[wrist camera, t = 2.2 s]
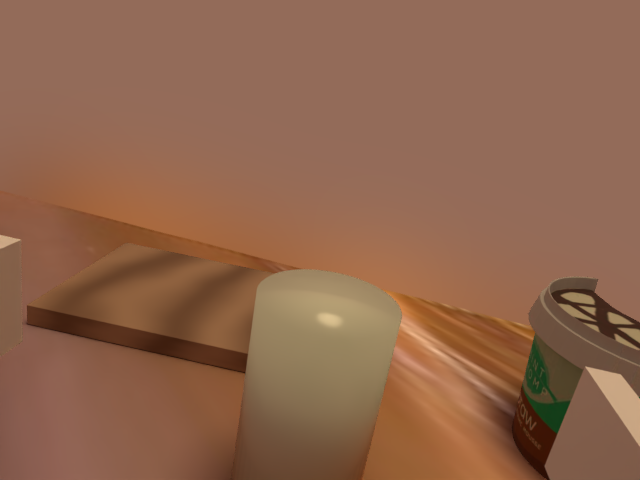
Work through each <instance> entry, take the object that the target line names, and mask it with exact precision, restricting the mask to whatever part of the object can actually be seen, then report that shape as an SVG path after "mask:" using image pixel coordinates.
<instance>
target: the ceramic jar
mask: <svg viewBox="0 0 640 480" xmlns="http://www.w3.org/2000/svg"><path fill="white" fill-rule="evenodd" d="M401 318H402V313H401V309H400V307H399V305H398V304H397V302H396V301H395V300H394V299H393V298H392V297H391V296H390V295H388V294H387V293H386V292H384V291H383V290H381V289H380V288H378V287H376V286H374V285H372V284H370V283H368V282H365V281H363V280H361V279H358V278H355V277H352V276H348V275H344V274H340V273H335V272H329V271H323V270H308V269H302V270H289V271H283V272H279V273H276V274H273V275H270V276H269V277H267V278H265V279H264V280H263V281H261V283H260V284H259V285H258V287H257V292H256V299H255V306H254V314H253V321H252V329H251V336H250V343H249V351H248V358H247V366H246V373H245V380H244V388H243V395H242V403H241V410H240V417H239V425H238V432H237V440H236V447H235V454H234V462H233V469H232V476H231V480H362V478H363V474H364V470H365V466H366V462H367V458H368V454H369V450H370V446H371V441H372V437H373V433H374V429H375V425H376V421H377V417H378V413H379V409H380V405H381V401H382V396H383V392H384V388H385V384H386V380H387V376H388V372H389V368H390V364H391V360H392V356H393V351H394V347H395V343H396V339H397V335H398V331H399V327H400V323H401Z"/></svg>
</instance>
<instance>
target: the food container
mask: <svg viewBox="0 0 640 480" xmlns="http://www.w3.org/2000/svg"><path fill="white" fill-rule="evenodd" d="M597 281H598V279H596V278H589V277H564V278H559V279H556V280H553V281H552V282H551V283H550V284H549V286H548V287H547V288H545V289H544V290H543V291H542V292H541V294H540V295H539V297H538V299H537V300H536V301H535V303H534V305H533V306H532V308H531V310H530V312H529V321H530V324H531V326H532V328H533V329H534V331H535V336H534V340H533V344H532V348H531V352H530V356H529V360H528V364H527V368H526V372H525V376H524V380H523V384H522V388H521V392H520V396H519V400H518V404H517V409H516V413H515V417H514V421H513V425H512V431H513V438H514V441H515V443H516V445H517V447H518V449H519V450H520V452H521V453H522V455H523V456H524V457H525V459H526V460H527V461H528V462H529V463H530V464H531V465H532V466H533V467H534V468H535V469H536V470H537V471H538V472H539V473H540V474H541V475H542V476H544V477H545V478H546V479H547V480H550V479H549V476H548V474H547V471H546V469H545V464H546V461H547V459H548V456H549V454H550V451H551V449H552V446H553V444H554V441H555V439H556V437H557V434H558V432H559V429H560V427H561V424H562V422H563V419H564V417H565V414H566V412H567V409H568V407H569V405H570V402H571V400H572V397H573V395H574V392H575V390H576V387H577V385H578V382H579V380H580V377H581V375H582V373H583V370H584V368H585V366H586V367H590V368H594V369H599V370H603V371H608V372H612V373H617V374H621V375H622V377H623V378H624V379H625V380H626V382H627V383H628V384H629V385H630V387H631V388H632V389H633V391H634V392H635V393H636V394H637V396H638V397H639V398H640V323H639V322H637V321H636V320H634V319H632V318H630V317H628V316H626V315H624V314H622V313H621V312H619V311H617V310H616V309H614V308H613V307H611V306H610V305H609V304H608V303H606V302H605V301H604V300H603V299H601V298H600V297H599V296H598V295H597V294H596V293H594V291H595V288H596V285H597Z"/></svg>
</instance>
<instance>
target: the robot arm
mask: <svg viewBox="0 0 640 480" xmlns="http://www.w3.org/2000/svg"><path fill="white" fill-rule="evenodd" d="M21 342H22V267H21V240H20V239H15V238H11V237H6V236H2V235H0V357H1V356H2V355H4V354H5V353H7V352H8V351H10V350H11V349H12V348H14V347H15V346H17V345H18V344H19V343H21ZM545 469H546V471H547V474H548V476H549V479H550V480H640V398H639V397H638V396H637V394H636V393H635V392H634V391H633V389H632V388H631V387H630V385H629V384H628V383H627V382H626V380H625V379H624V378H623V377H622V375H621V374H617V373H612V372H608V371H603V370H599V369H594V368H590V367H586V366H585V368H584V370H583V373H582V375H581V377H580V380H579V382H578V385H577V387H576V390H575V392H574V395H573V397H572V400H571V402H570V405H569V407H568V409H567V412H566V414H565V417H564V419H563V422H562V424H561V427H560V429H559V432H558V434H557V437H556V439H555V441H554V444H553V446H552V449H551V451H550V454H549V456H548V459H547V461H546V464H545Z"/></svg>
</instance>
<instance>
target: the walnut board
mask: <svg viewBox="0 0 640 480" xmlns="http://www.w3.org/2000/svg"><path fill="white" fill-rule="evenodd" d="M273 274H275V273H270V272H265V271H260V270H256V269H251V268H246V267H241V266H236V265H232V264H227V263H222V262H217V261H212V260H207V259H203V258H198V257H193V256H188V255H183V254H178V253H174V252H169V251H164V250H159V249H154V248H149V247H145V246H140V245H135V244H130V243H125V244H123V245H122V246H120V247H119V248H117V249H115V250H114V251H112V252H111V253H109V254H108V255H106V256H104V257H103V258H101V259H100V260H98V261H96V262H95V263H93V264H92V265H90V266H88V267H87V268H85V269H84V270H82V271H80V272H79V273H77V274H76V275H74V276H73V277H71V278H69V279H68V280H66V281H65V282H63V283H61V284H60V285H58V286H57V287H55V288H53V289H52V290H50V291H49V292H47V293H45V294H44V295H42V296H41V297H39V298H37V299H36V300H34V301H33V302H31V303H30V304H28V305H27V323H28V324H30V325H34V326H39V327H43V328H48V329H52V330H57V331H61V332H66V333H70V334H75V335H79V336H84V337H88V338H93V339H97V340H102V341H106V342H111V343H115V344H120V345H124V346H128V347H133V348H137V349H142V350H146V351H151V352H155V353H160V354H164V355H169V356H173V357H178V358H182V359H187V360H191V361H196V362H200V363H205V364H209V365H214V366H218V367H223V368H227V369H231V370H236V371H240V372H245V373H246V366H247V358H248V351H249V343H250V336H251V329H252V321H253V314H254V306H255V299H256V292H257V287H258V285H259V284H260V283H261V281H263V280H264V279H265V278H267V277H269V276H270V275H273Z"/></svg>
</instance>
